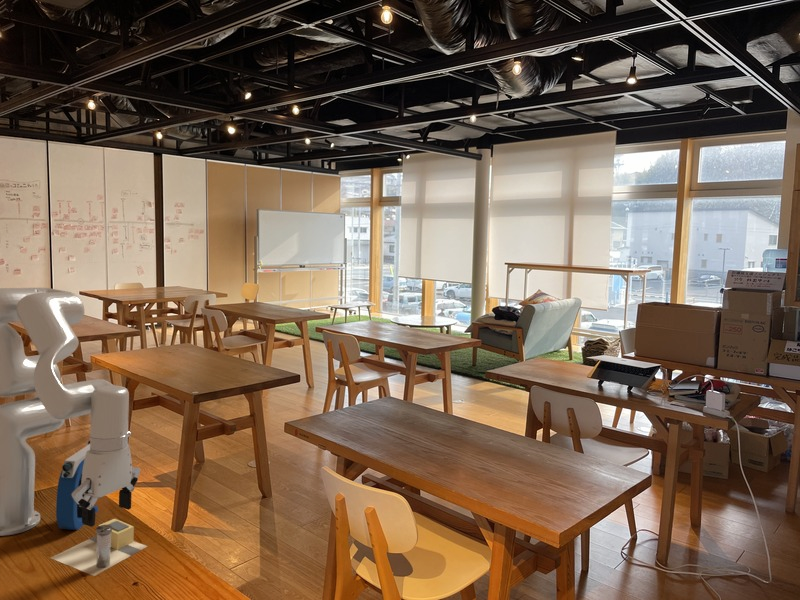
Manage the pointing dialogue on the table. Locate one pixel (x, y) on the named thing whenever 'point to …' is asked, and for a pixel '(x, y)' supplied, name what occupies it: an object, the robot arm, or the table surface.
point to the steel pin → (103, 546)
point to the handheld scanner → (68, 483)
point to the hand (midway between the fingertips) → (107, 516)
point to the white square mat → (94, 555)
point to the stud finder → (120, 533)
